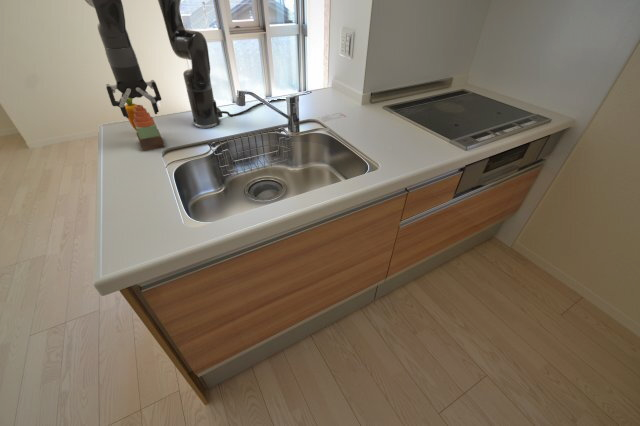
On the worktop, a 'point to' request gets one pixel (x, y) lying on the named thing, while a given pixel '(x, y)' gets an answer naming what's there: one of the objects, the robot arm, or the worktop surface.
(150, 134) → the top block
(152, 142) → the base block
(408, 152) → the worktop surface
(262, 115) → the worktop surface
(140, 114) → the cone
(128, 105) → the carrot
